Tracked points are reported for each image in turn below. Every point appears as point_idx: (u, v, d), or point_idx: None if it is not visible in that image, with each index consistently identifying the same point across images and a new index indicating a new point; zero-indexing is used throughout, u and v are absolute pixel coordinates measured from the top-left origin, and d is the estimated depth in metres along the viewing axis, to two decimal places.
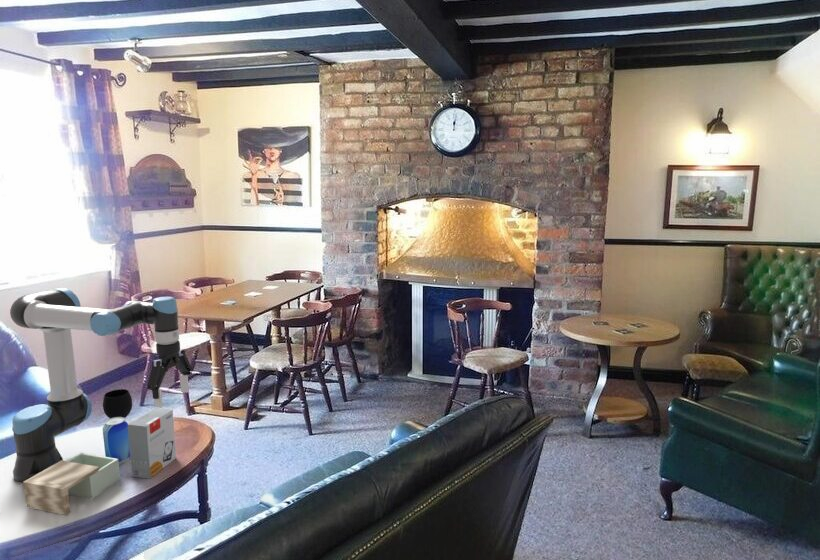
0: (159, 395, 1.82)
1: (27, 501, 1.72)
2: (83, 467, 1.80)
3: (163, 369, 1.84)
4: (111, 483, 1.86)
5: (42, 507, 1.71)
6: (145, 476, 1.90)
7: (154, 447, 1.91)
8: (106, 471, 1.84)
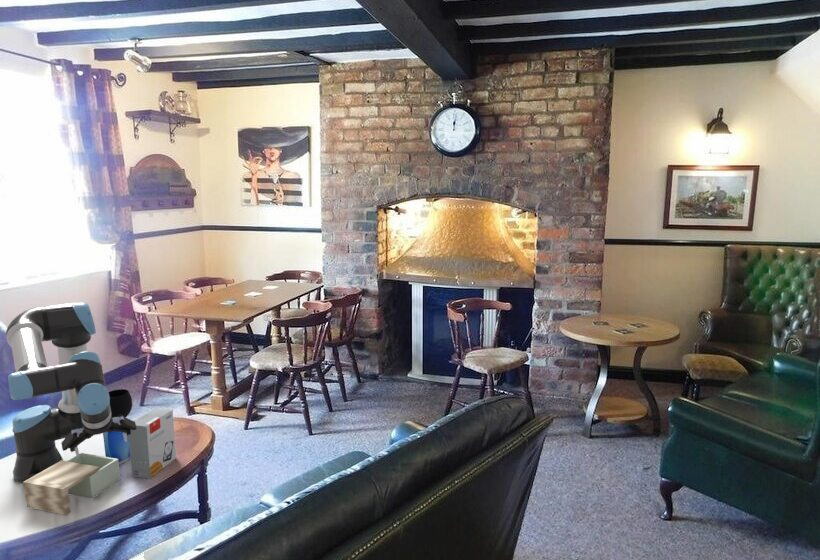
0: (75, 450, 1.65)
1: (27, 501, 1.72)
2: (83, 467, 1.80)
3: (84, 436, 1.61)
4: (111, 483, 1.86)
5: (42, 507, 1.71)
6: (145, 476, 1.90)
7: (153, 447, 1.91)
8: (106, 471, 1.84)
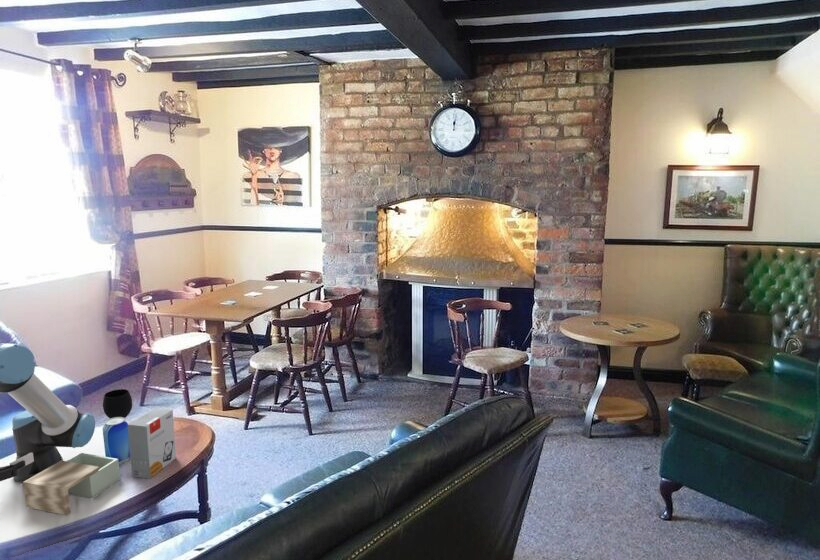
0: None
1: (27, 501, 1.72)
2: (83, 467, 1.80)
3: None
4: (111, 483, 1.86)
5: (42, 507, 1.71)
6: (145, 476, 1.90)
7: (153, 447, 1.91)
8: (106, 471, 1.84)
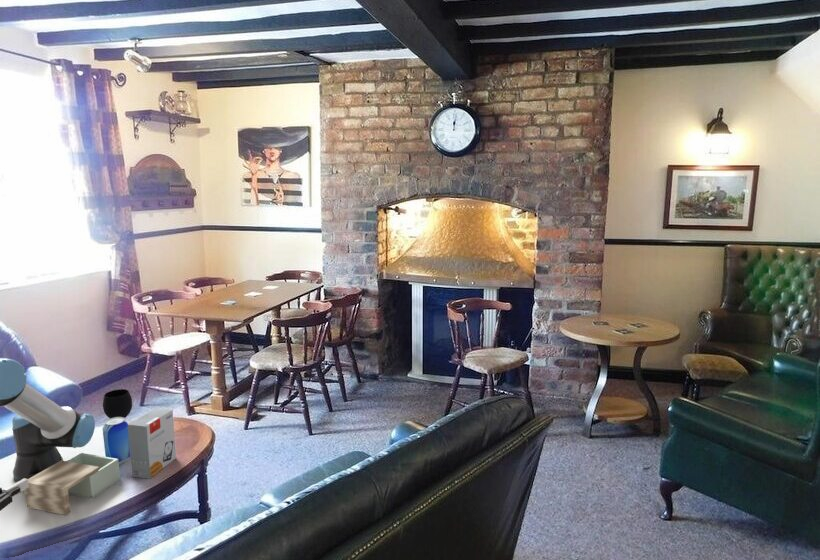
0: None
1: (27, 501, 1.72)
2: (83, 467, 1.80)
3: None
4: (111, 483, 1.86)
5: (42, 507, 1.71)
6: (145, 476, 1.90)
7: (153, 447, 1.91)
8: (106, 471, 1.84)
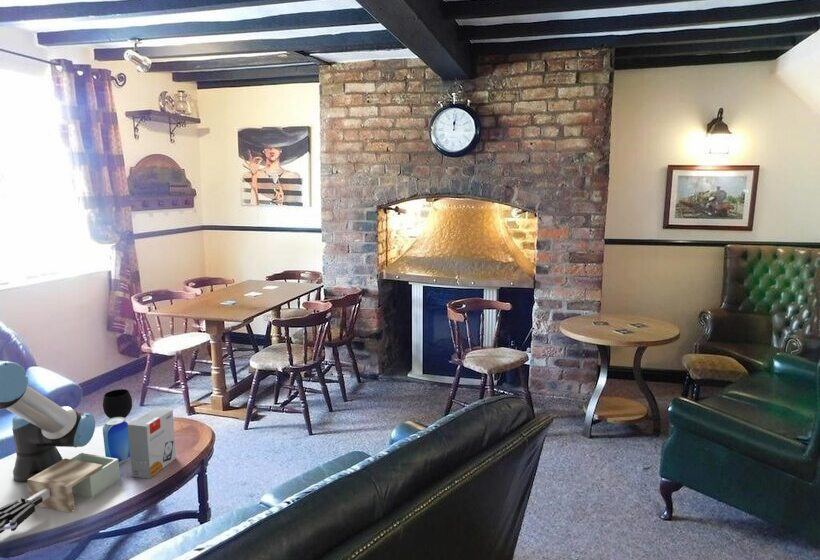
0: None
1: None
2: (87, 465, 1.81)
3: None
4: (111, 483, 1.86)
5: (46, 505, 1.72)
6: (145, 476, 1.90)
7: (153, 447, 1.91)
8: (106, 471, 1.84)
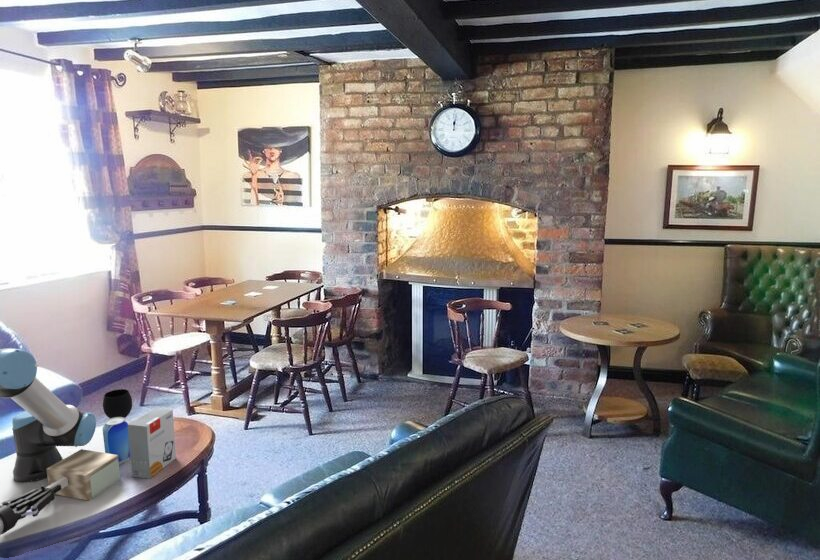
0: None
1: None
2: (103, 455, 1.88)
3: None
4: (111, 483, 1.86)
5: (65, 493, 1.79)
6: (145, 476, 1.90)
7: (153, 447, 1.91)
8: (106, 471, 1.84)
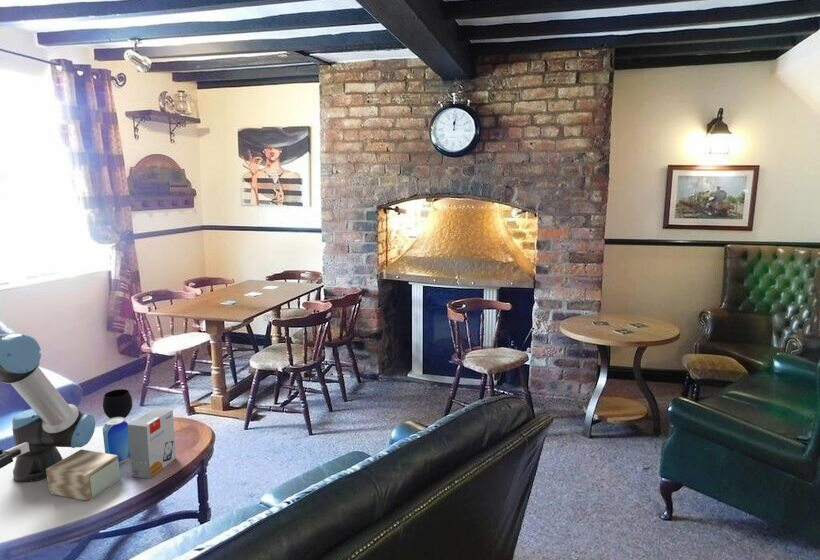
0: None
1: (49, 487, 1.80)
2: (102, 455, 1.88)
3: None
4: (111, 483, 1.86)
5: (64, 493, 1.79)
6: (145, 476, 1.90)
7: (153, 447, 1.91)
8: (106, 471, 1.84)
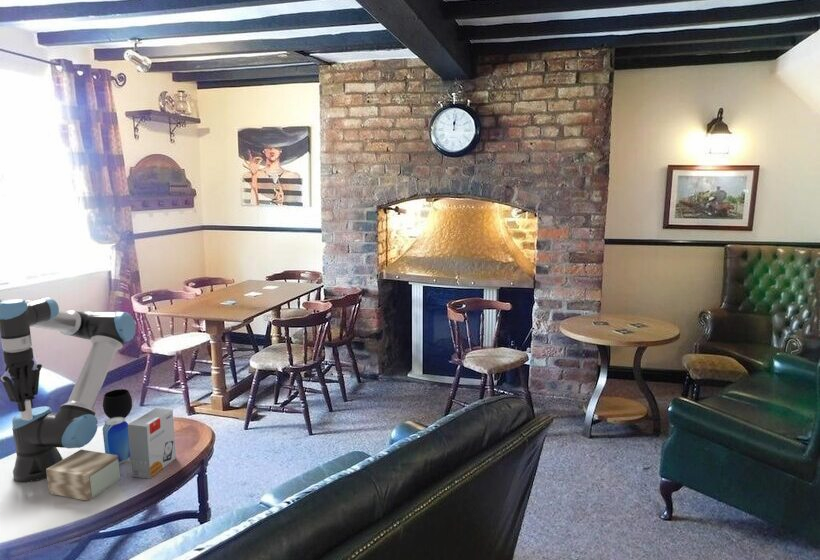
0: (26, 407, 1.71)
1: (49, 487, 1.80)
2: (102, 455, 1.88)
3: (18, 381, 1.68)
4: (111, 483, 1.86)
5: (64, 493, 1.79)
6: (145, 476, 1.90)
7: (153, 447, 1.91)
8: (106, 471, 1.84)
